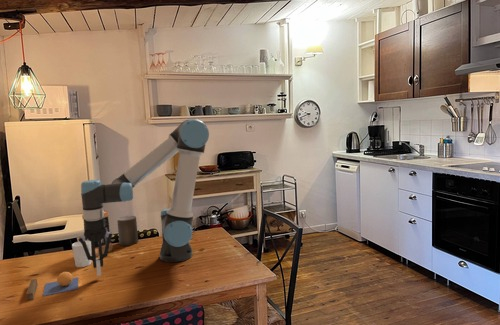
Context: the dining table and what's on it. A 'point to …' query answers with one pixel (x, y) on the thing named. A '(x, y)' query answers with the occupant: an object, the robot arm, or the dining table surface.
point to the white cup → (81, 254)
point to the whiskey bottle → (103, 237)
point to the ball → (64, 279)
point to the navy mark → (60, 287)
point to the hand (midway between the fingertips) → (99, 274)
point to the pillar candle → (127, 230)
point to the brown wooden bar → (31, 289)
